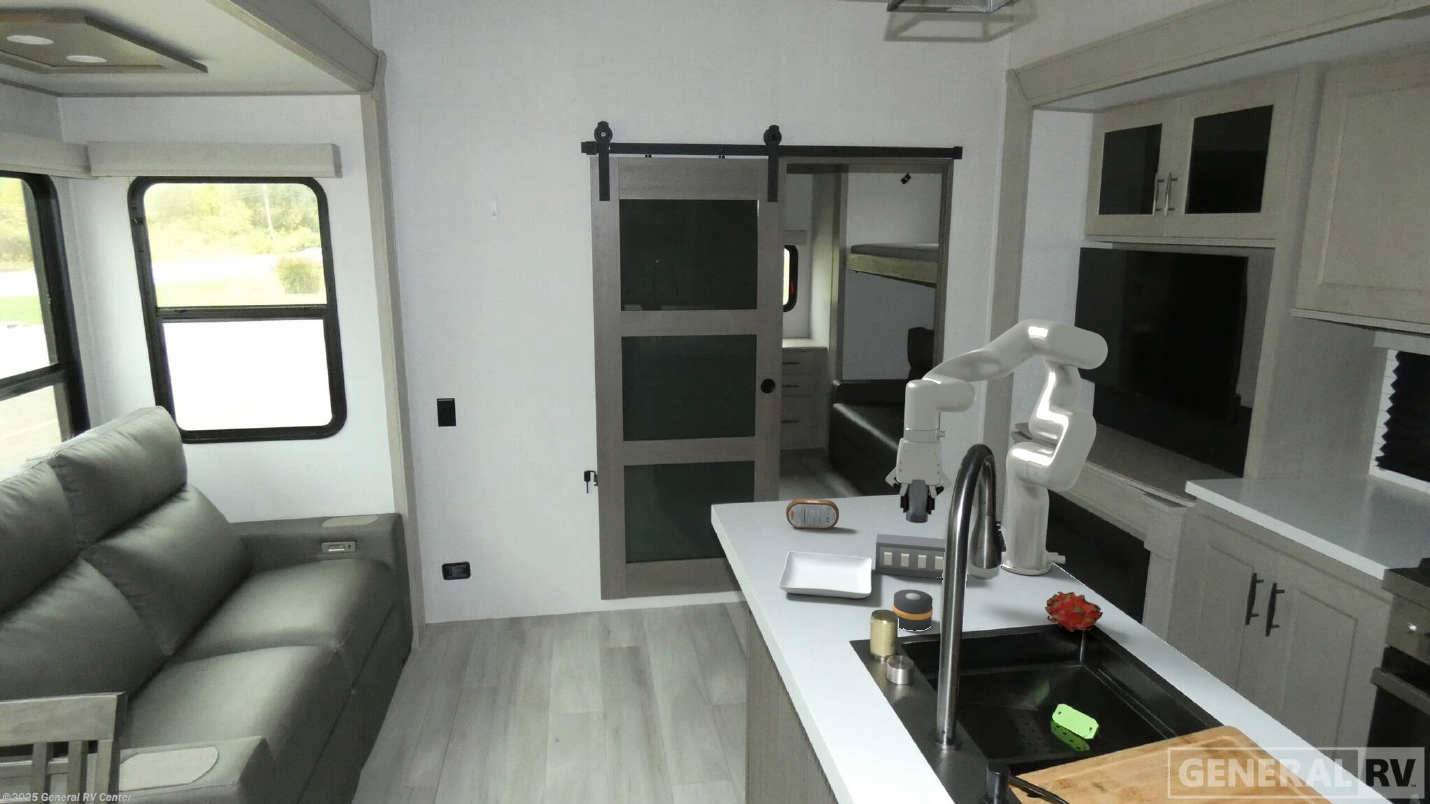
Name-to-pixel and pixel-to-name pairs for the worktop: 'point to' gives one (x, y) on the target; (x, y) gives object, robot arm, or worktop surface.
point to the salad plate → (827, 575)
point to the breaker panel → (909, 556)
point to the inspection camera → (917, 502)
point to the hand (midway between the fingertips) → (917, 511)
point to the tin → (812, 513)
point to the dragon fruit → (1072, 611)
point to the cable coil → (913, 609)
